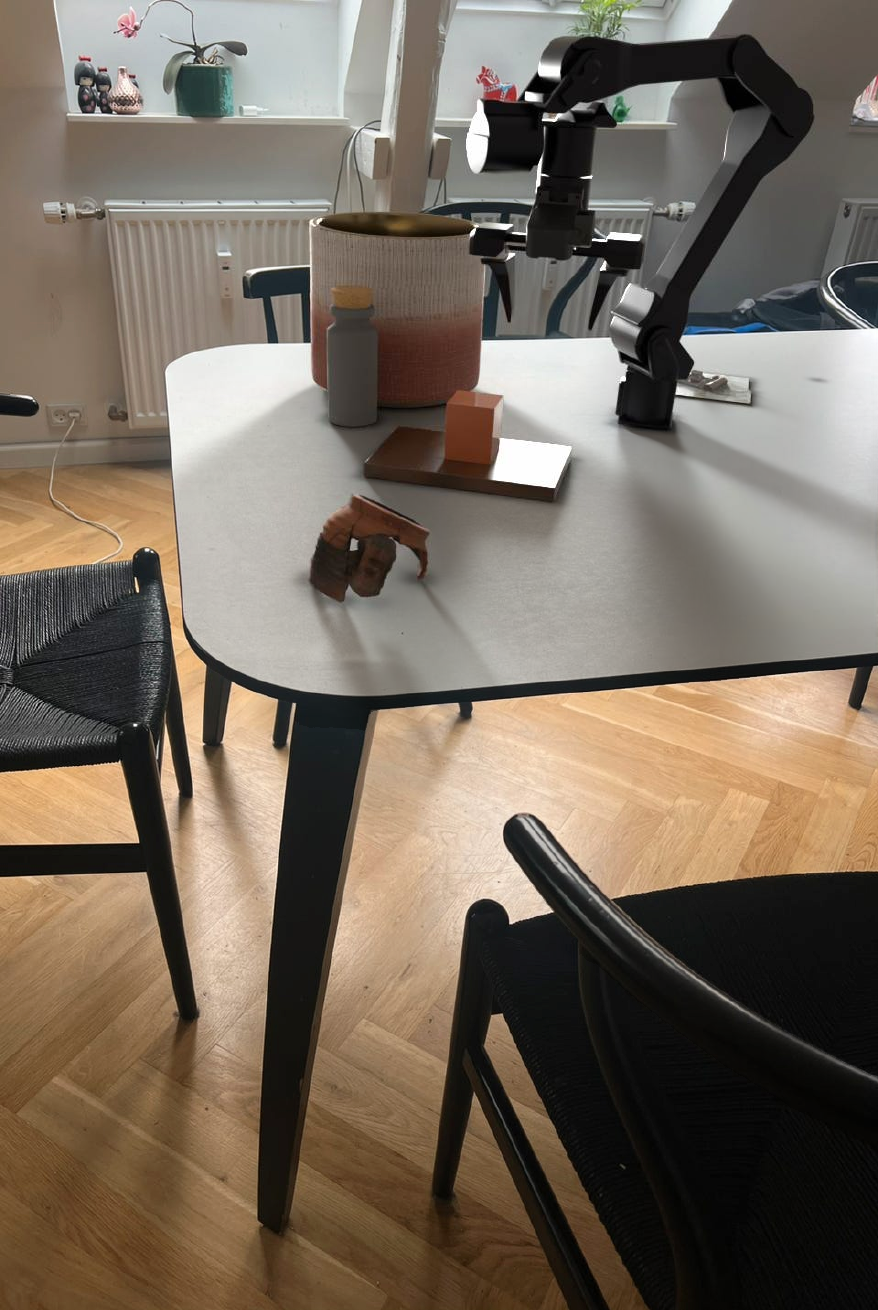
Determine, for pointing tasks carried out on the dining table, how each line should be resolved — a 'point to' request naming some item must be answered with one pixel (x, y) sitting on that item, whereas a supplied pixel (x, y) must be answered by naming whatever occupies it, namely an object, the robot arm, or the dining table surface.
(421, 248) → the planter
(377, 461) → the board
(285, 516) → the dining table surface
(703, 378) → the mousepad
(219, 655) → the dining table surface
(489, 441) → the terracotta block
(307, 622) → the dining table surface
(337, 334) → the bottle
